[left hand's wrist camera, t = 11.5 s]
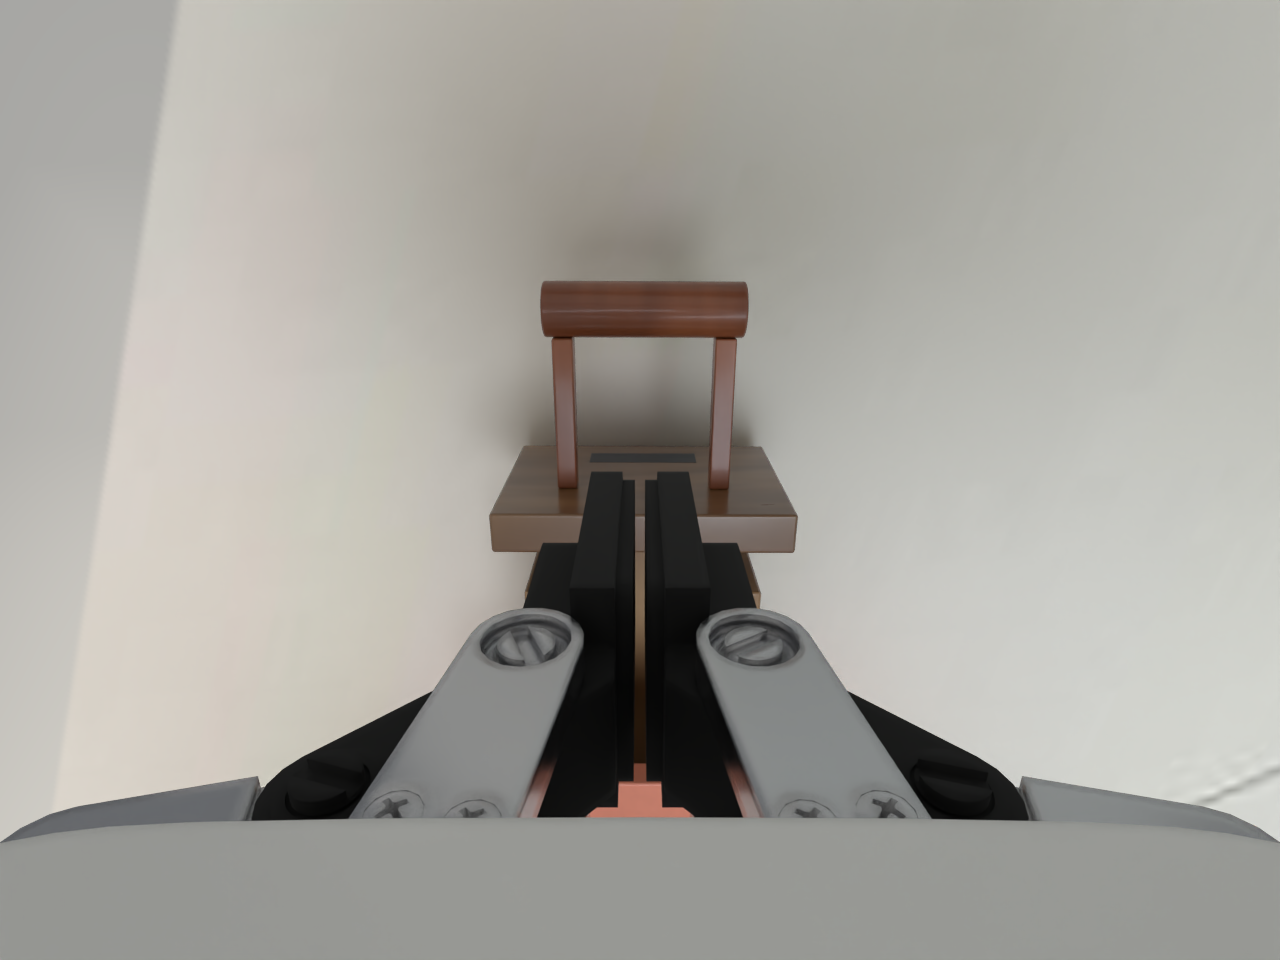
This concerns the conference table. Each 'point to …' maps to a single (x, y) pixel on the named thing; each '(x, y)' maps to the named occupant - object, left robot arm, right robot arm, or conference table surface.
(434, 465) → the conference table surface
